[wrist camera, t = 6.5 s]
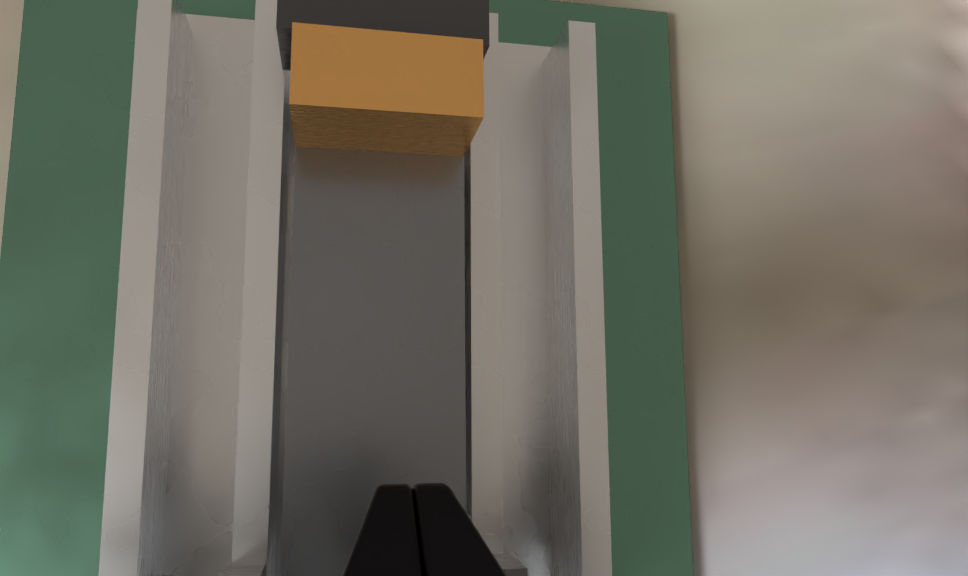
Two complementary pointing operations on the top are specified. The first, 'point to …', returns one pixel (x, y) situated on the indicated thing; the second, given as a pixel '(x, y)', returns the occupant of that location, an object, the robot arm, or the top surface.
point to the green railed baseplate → (266, 287)
